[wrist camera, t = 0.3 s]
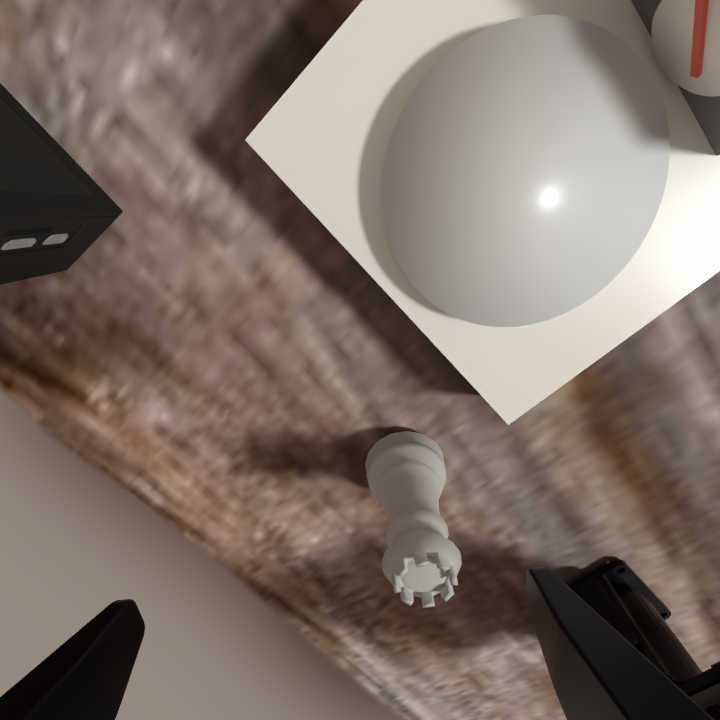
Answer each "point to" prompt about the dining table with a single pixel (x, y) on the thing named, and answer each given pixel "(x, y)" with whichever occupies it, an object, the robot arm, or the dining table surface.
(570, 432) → the dining table surface
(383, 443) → the rook chess piece
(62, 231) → the digital camera
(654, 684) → the robot arm
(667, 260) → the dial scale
